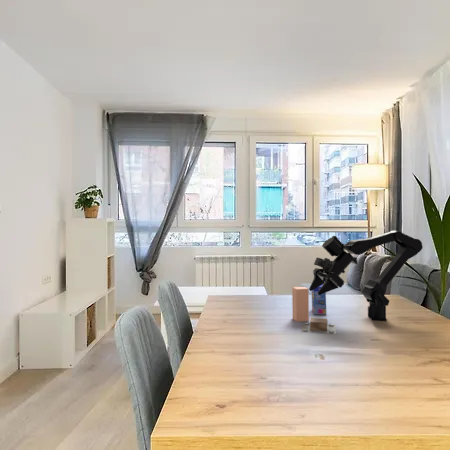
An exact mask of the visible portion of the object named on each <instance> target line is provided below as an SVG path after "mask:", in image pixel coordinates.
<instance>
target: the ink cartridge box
mask: <svg viewBox="0 0 450 450" xmlns="http://www.w3.org/2000/svg"><path fill="white" fill-rule="evenodd" d="M311 284H312V282H311ZM311 284H310V285H311ZM322 286H323V284H322V285H321V286H319V287H317V288H316V289H314V290H312V291H311V309H312V313H313V314H314V315H327V292H326V293H323V294H321V295H319V294H318V291H319V290H320V288H321V287H322Z"/></svg>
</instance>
